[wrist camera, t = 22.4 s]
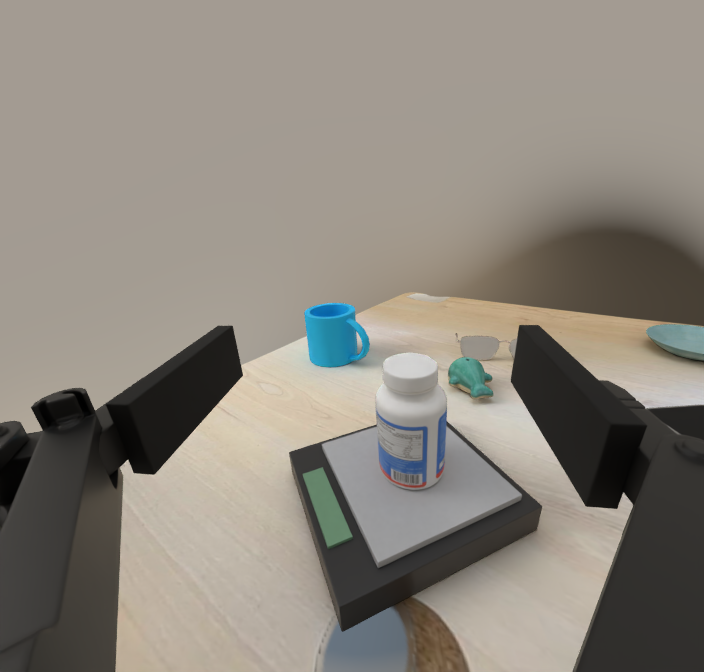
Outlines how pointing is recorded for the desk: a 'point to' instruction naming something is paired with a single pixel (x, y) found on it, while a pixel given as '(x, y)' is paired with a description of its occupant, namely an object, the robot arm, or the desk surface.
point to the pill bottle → (411, 421)
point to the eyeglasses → (482, 347)
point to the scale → (402, 519)
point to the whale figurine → (470, 377)
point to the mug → (334, 335)
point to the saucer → (679, 339)
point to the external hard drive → (682, 419)
